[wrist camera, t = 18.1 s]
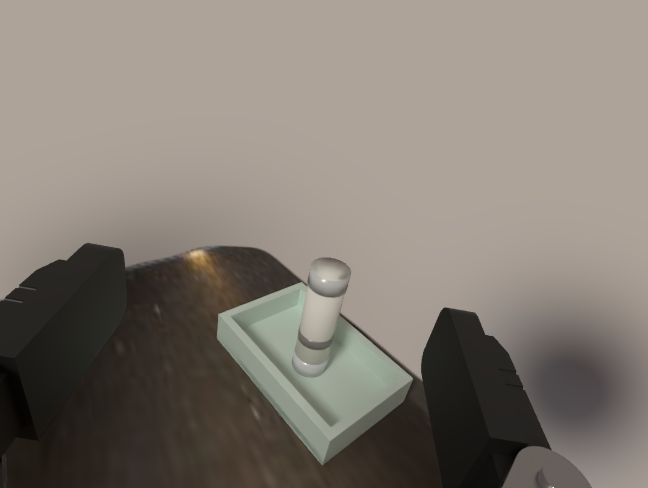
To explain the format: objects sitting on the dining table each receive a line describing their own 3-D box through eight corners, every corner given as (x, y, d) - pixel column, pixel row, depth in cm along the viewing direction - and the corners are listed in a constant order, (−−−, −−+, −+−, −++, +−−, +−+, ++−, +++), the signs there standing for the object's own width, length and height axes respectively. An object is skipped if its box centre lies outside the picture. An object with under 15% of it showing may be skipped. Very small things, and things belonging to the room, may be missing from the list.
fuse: (284, 359, 50) (302, 263, 42) (311, 345, 52) (331, 253, 45) (306, 383, 47) (329, 286, 40) (333, 367, 50) (359, 274, 43)
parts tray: (217, 338, 52) (218, 314, 50) (297, 304, 60) (301, 282, 58) (322, 465, 40) (329, 441, 38) (403, 401, 49) (413, 378, 47)
